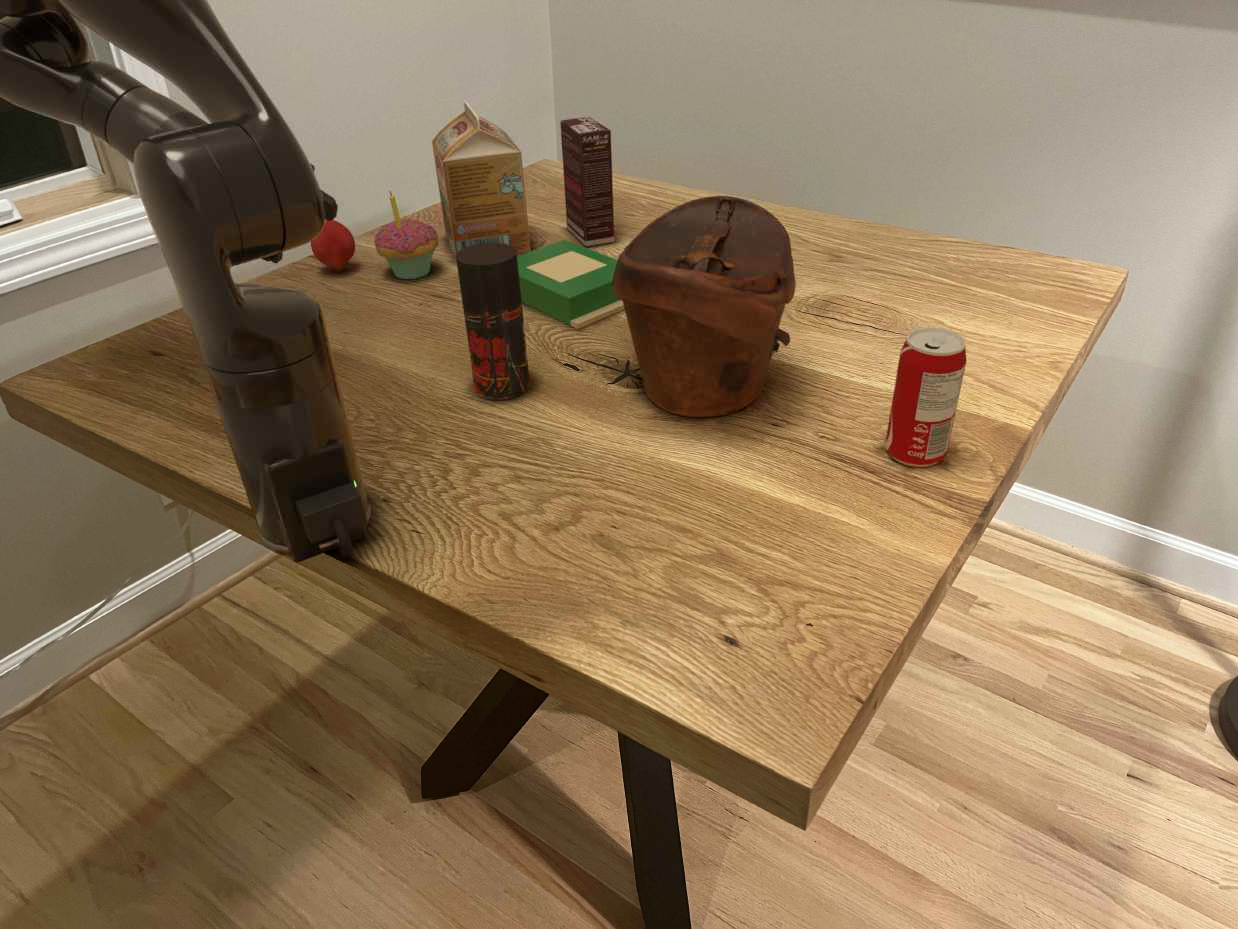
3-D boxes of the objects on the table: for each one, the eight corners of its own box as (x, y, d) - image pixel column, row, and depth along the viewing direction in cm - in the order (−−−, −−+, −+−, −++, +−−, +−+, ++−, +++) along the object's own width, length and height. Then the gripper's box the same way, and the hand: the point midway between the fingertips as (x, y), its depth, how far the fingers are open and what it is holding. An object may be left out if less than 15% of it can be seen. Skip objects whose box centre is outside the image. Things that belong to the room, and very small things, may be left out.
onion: (308, 274, 125) (294, 217, 120) (337, 259, 129) (324, 204, 124) (340, 281, 122) (327, 223, 118) (368, 266, 126) (357, 210, 122)
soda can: (900, 430, 87) (919, 317, 80) (955, 449, 84) (980, 333, 78) (874, 456, 84) (892, 340, 77) (930, 476, 81) (954, 358, 74)
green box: (649, 298, 114) (649, 271, 112) (577, 329, 108) (575, 300, 106) (560, 262, 125) (558, 236, 123) (490, 287, 119) (487, 261, 117)
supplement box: (616, 242, 131) (612, 129, 122) (585, 248, 129) (578, 134, 120) (595, 223, 137) (590, 115, 128) (565, 228, 136) (558, 119, 127)
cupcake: (429, 286, 120) (414, 197, 113) (369, 283, 121) (351, 195, 114) (451, 261, 127) (439, 176, 120) (395, 259, 128) (379, 174, 121)
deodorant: (467, 381, 98) (448, 249, 90) (519, 368, 100) (505, 238, 92) (484, 405, 94) (465, 269, 85) (538, 392, 96) (525, 257, 87)
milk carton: (446, 237, 135) (426, 104, 124) (515, 228, 137) (501, 96, 126) (457, 263, 126) (437, 122, 115) (530, 252, 129) (517, 113, 118)
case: (648, 454, 85) (645, 276, 75) (596, 360, 101) (588, 202, 91) (822, 422, 89) (841, 248, 79) (745, 336, 105) (753, 182, 95)
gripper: (112, 145, 82) (262, 242, 82) (221, 84, 91) (356, 172, 91) (119, 206, 88) (259, 297, 88) (220, 143, 97) (347, 226, 97)
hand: (308, 233), depth 90 cm, fingers open, 8 cm apart
